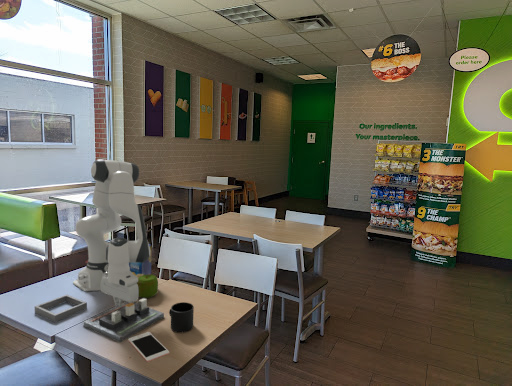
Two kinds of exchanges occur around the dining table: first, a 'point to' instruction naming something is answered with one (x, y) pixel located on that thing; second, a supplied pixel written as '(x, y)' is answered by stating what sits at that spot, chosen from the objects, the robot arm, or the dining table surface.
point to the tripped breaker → (129, 309)
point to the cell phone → (148, 346)
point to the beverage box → (141, 267)
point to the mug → (181, 317)
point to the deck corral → (54, 317)
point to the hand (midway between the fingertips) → (118, 306)
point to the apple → (147, 286)
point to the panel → (124, 321)
